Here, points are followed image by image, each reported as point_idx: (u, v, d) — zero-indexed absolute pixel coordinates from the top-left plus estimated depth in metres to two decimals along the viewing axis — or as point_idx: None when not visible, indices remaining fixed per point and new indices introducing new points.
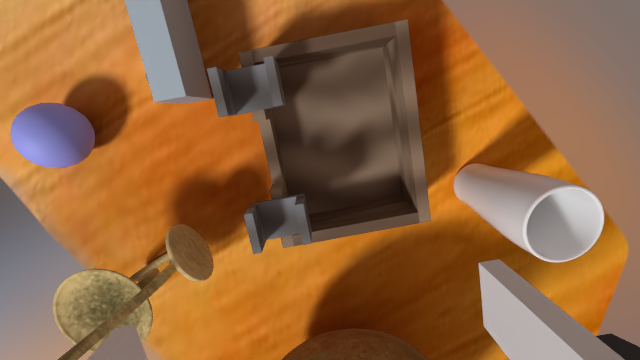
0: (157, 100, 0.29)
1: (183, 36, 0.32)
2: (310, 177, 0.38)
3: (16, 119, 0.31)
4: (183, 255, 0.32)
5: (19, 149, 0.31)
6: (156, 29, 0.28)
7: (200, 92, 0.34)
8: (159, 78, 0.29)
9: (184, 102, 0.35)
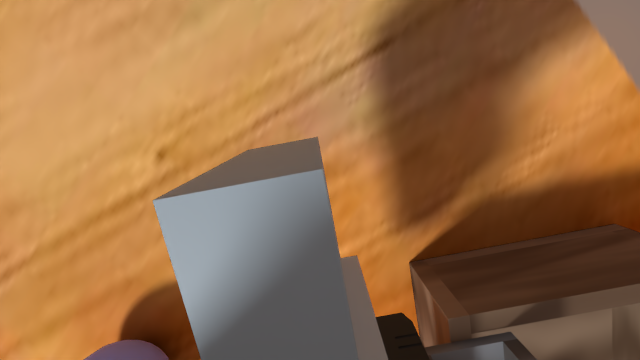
0: None
1: None
2: None
3: None
4: None
5: None
6: None
7: None
8: None
9: None
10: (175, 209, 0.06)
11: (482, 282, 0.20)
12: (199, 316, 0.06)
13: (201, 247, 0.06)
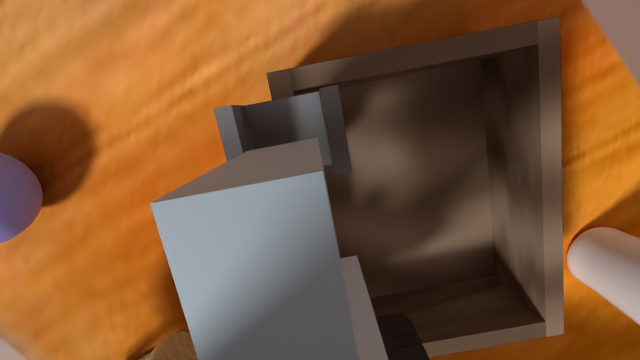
0: None
1: None
2: (362, 249, 0.26)
3: None
4: None
5: None
6: None
7: None
8: None
9: None
10: (173, 212, 0.05)
11: None
12: (197, 321, 0.06)
13: (200, 250, 0.06)
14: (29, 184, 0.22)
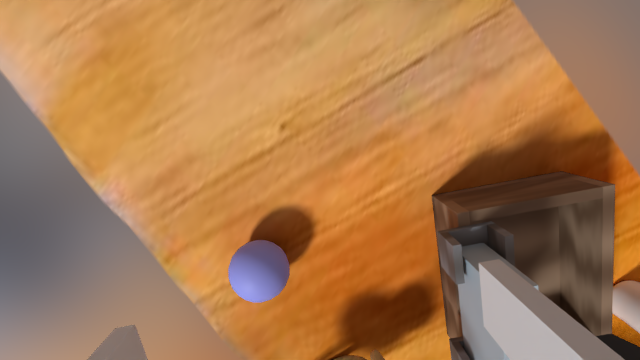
0: None
1: None
2: None
3: (240, 266, 0.34)
4: None
5: (242, 293, 0.34)
6: None
7: None
8: None
9: None
10: None
11: (476, 199, 0.35)
12: None
13: None
14: None
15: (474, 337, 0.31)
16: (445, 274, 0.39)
